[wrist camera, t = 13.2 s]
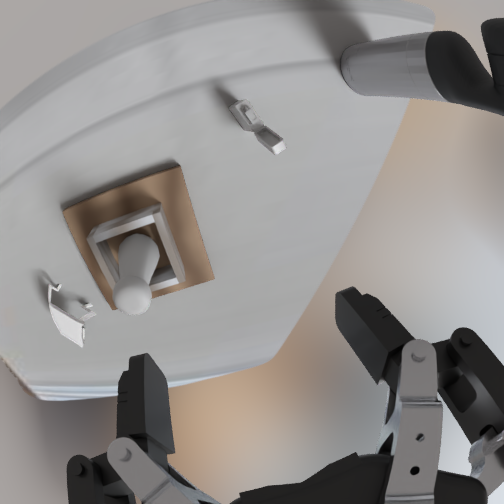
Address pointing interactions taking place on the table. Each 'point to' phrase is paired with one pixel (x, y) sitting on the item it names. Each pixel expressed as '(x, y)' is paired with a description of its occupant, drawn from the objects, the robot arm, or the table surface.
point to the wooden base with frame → (142, 232)
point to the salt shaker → (135, 274)
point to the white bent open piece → (69, 320)
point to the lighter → (257, 126)
